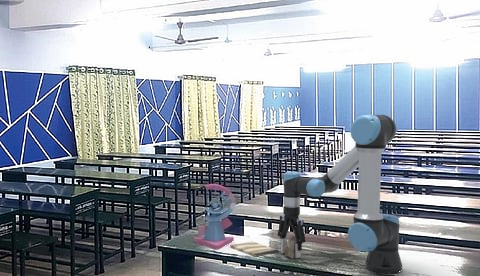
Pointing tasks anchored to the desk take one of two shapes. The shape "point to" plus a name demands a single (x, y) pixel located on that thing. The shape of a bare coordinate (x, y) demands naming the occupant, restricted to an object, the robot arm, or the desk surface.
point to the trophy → (216, 221)
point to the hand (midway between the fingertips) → (290, 254)
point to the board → (254, 249)
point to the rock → (290, 247)
